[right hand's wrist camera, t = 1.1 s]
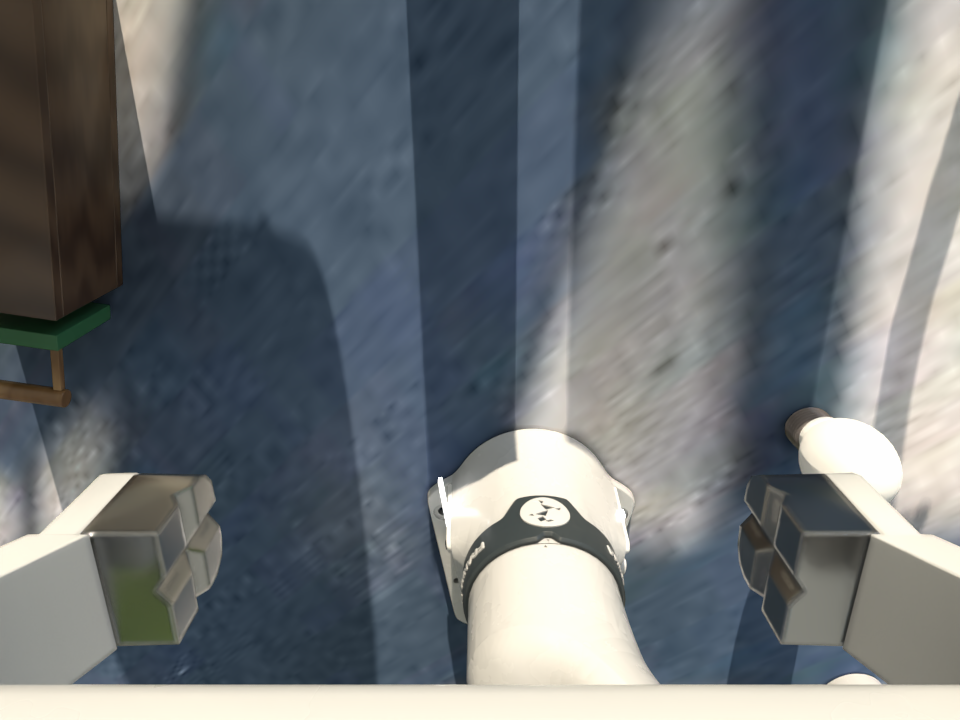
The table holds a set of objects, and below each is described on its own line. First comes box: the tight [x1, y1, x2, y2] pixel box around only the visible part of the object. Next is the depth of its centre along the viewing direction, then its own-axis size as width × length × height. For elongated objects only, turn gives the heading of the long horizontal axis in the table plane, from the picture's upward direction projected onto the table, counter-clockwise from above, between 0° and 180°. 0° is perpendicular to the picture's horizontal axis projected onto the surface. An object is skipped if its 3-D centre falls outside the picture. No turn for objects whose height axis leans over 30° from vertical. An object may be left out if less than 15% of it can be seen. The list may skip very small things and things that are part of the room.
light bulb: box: [785, 408, 903, 503], centre depth 54 cm, size 7×7×11 cm
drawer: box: [0, 302, 110, 407], centre depth 48 cm, size 26×9×7 cm, turn 171°
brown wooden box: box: [0, 0, 123, 321], centre depth 46 cm, size 22×10×9 cm, turn 171°
